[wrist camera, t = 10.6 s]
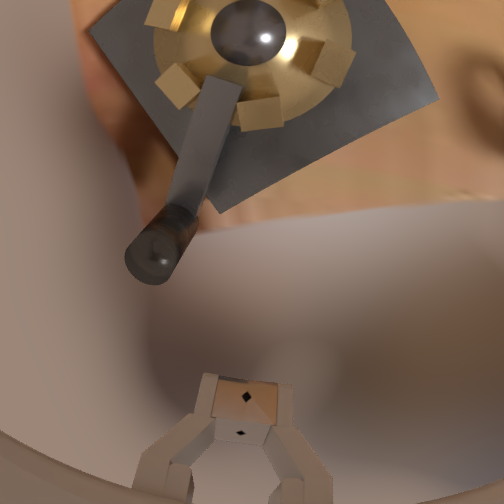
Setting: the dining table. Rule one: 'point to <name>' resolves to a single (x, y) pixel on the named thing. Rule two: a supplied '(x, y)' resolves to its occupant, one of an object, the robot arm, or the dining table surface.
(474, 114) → the dining table surface
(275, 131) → the plate
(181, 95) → the ball knob lever
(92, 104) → the dining table surface
